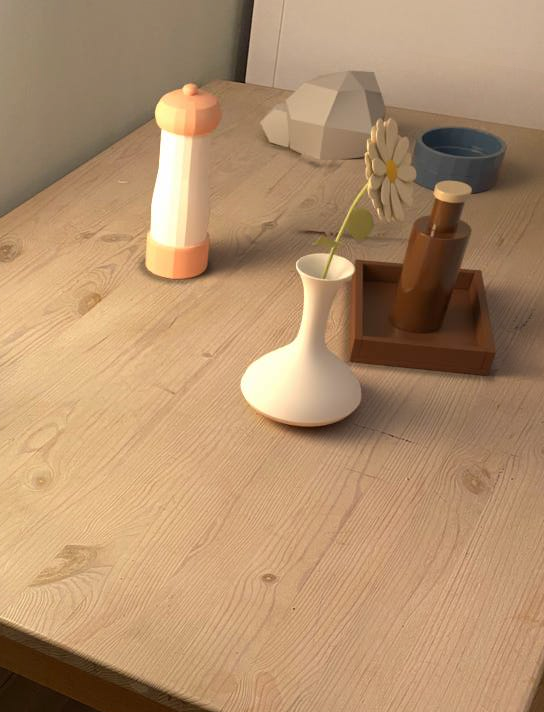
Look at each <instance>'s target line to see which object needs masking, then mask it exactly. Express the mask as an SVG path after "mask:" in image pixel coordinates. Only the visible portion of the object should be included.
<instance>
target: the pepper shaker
mask: <svg viewBox="0 0 544 712" xmlns="http://www.w3.org/2000/svg"><path fill="white" fill-rule="evenodd" d="M222 113H223V112H222V106H221V103H220V101H219V99H218V98H217V97H216V95H214V94H212V93H210V92H209V91H206V90H203V89H200V88H198V86H197V84H195V83H187V84H184V86H183V87H182V88H179V89H175V90H173V91H170V92H168V93H166V94H164V95H162V97H161V98H160V100H159V101H158V103H157V104H156V107H155V111H154V117H155V121H156V124H157V126H158V127H159V128H160V130H161V131H160V132H161V134H160V149H159V164H158V171H157V176H156V181H155V185H154V189H153V194H152V199H151V200H152V201H151V210H150V211H151V215H150V218H151V219H150V229H149V231H148V232H147V233H146V248H145V249H146V250H145V267H146V269H147V270H148V271H149V272H151V273H152V274H154V275H156V276H159V277H162V278H167V279H172V280H173V279H175V280H177V279H178V280H179V279H180V280H183V279H189V278H194V277H197V276H200V275H201V274H203V273H204V272H205V271H206V269H207V268H208V261H209V252H210V243H211V238H210V237H211V236H210V233H209V231H208V230H209V222H210V214H211V185H210V164H211V162H210V161H211V152H212V144H213V143H212V142H213V131H215V130H216V129H217V128H218V126H219V125H220V122H221V120H222V117H223V114H222Z"/></svg>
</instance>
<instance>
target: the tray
mask: <svg viewBox="0 0 544 712" xmlns="http://www.w3.org/2000/svg"><path fill="white" fill-rule="evenodd" d="M353 265H354V267H355V272H354V274H353V275H352V276H351V279H350V305H349V306H350V308H349V311H350V312H349V349H348V351H349V355H348V357H349V358H348V361H349V362H351V363H363V364H369V365H380V366H390V367H399V368H400V367H401V368H409V369H410V368H411V369H419V370H429V371H438V372H449V373H458V374H459V373H460V374H469V375H477V376H489V373H490V370H491V367H492V364H493V362H494V358H495V356H496V354H497V351H496V345H495V340H494V335H493V329H492V328H493V327H492V323H491V317H490V313H489V307H488V300H487V295H486V289H485V283H484V277H483V271H482V270H481V269H470V268H468V269H467V268H460V271H459V274H458V277H457V280H456V283H455V287H454V290H453V293H452V296H451V300H450V303H449V306H448V309H447V312H446V316H445V319H444V322H443V325H442V327H441V328H440V329H438V330H437V331H434V332H430V333H413V332H408V331H405V330H402V329H400V328H398V327H396V326H395V325H393V324H392V323H391V321H390V319H389V314H390V310H391V307H392V303H393V299H394V295H395V291H396V288H397V284H398V280H399V276H400V272H401V269H402V265H403V262H401V263H400V262H389V261H378V260H377V261H376V260H368V259H367V260H366V259H355V262H354V264H353Z"/></svg>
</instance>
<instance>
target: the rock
mask: <svg viewBox="0 0 544 712" xmlns="http://www.w3.org/2000/svg"><path fill="white" fill-rule="evenodd" d="M386 112H387V108H386V104H385V101H384V98H383V94H382V91H381V88H380V85H379V83H378V80H377V77H376V74H375V72H374V71H365V70H343V71H338V72H333V73H326V74H320V75H318V76H315V77H314V78H312V79H309V80H307V81H306V82H305V83H303V84H302V85H301V86H300V87H299V88H298V89H296V90H295V91H294V92H293V93H292V94H291V95H290V96H288V97H287V98H286V99H285V102H281V103H277V104H275V105H274V106H273V107H272V108H271V109H270V110H269V111H268V112H267V113H266V114H265V115H264V116H263V118H262V119H261V120H260V122H259V123H260V125H261V127H262V129H263V132H264V134H265V135H266V138H267V139H268V142H269V143H271V144H274V145H278V146H281V147H285V148H289V149H290V150H293V151H295V152H297V153H299V154H303V155H306V156H308V157H311V158H313V159H316V160H318V161H335V160H336V161H337V160H338V161H340V160H347V159H349V160H350V159H357V158H359V159H360V158H365V153H366V152H368V150H367V140H368V138H370V139H371V131H372V127H373V126H376V124H377V121H378V120H379V119H380V118H381V119H382V120H383V122H385V120H384V119H385V117H386Z"/></svg>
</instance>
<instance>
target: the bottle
mask: <svg viewBox="0 0 544 712" xmlns="http://www.w3.org/2000/svg"><path fill="white" fill-rule="evenodd" d="M471 192H472V188H471V187H470V186H469V185H467V184H465V183H462V182H458V181H442V182H439V183H437V184H436V185H435V189H434V190H433V197H434V201H433V204H432V209H431V212H430V214H428V215H424V216H420V217H418V218H416V219H415V221H414V222H413V223H412V227H411V231H410V235H409V239H408V241H407V246H406V250H405V253H404V254H405V255H404V256H403V257H404V258H403V261H402V264H403V265H402V269H401V272H400V276H399V280H398V284H397V288H396V291H395V295H394V299H393V303H392V307H391V310H390V314H389V319H390V321H391V323H392V324H393V325H395V326H396V327H398V328H400V329H402V330H405V331H408V332H413V333H430V332H434V331H437V330H438V329H440V328H441V327H442V325H443V322H444V319H445V316H446V312H447V309H448V306H449V303H450V300H451V296H452V293H453V290H454V287H455V283H456V280H457V277H458V274H459V271H460V269H461V268H462V264H463V260H464V257H465V254H466V250H467V247H468V244H469V243H470V238H471V234H472V227H471V226H470V224H468V223H467V222H465V221H464V220H462V219H461V217H462V214H463V210H464V207H465V204H466V202H467V201H469V200H470V198H471V195H472V194H471Z"/></svg>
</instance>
